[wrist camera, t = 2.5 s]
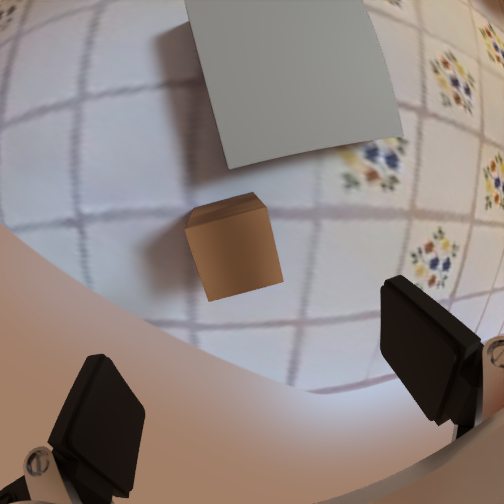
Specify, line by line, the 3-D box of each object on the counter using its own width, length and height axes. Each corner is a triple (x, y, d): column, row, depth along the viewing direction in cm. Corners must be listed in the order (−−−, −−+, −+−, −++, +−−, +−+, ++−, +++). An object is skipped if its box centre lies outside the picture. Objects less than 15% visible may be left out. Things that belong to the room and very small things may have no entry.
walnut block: (252, 191, 23) (266, 207, 16) (266, 247, 25) (283, 281, 18) (194, 207, 23) (184, 229, 16) (210, 262, 25) (208, 301, 18)
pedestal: (339, 5, 18) (356, -13, 14) (378, 137, 22) (403, 136, 19) (189, 20, 17) (184, -1, 14) (227, 167, 22) (229, 169, 18)
